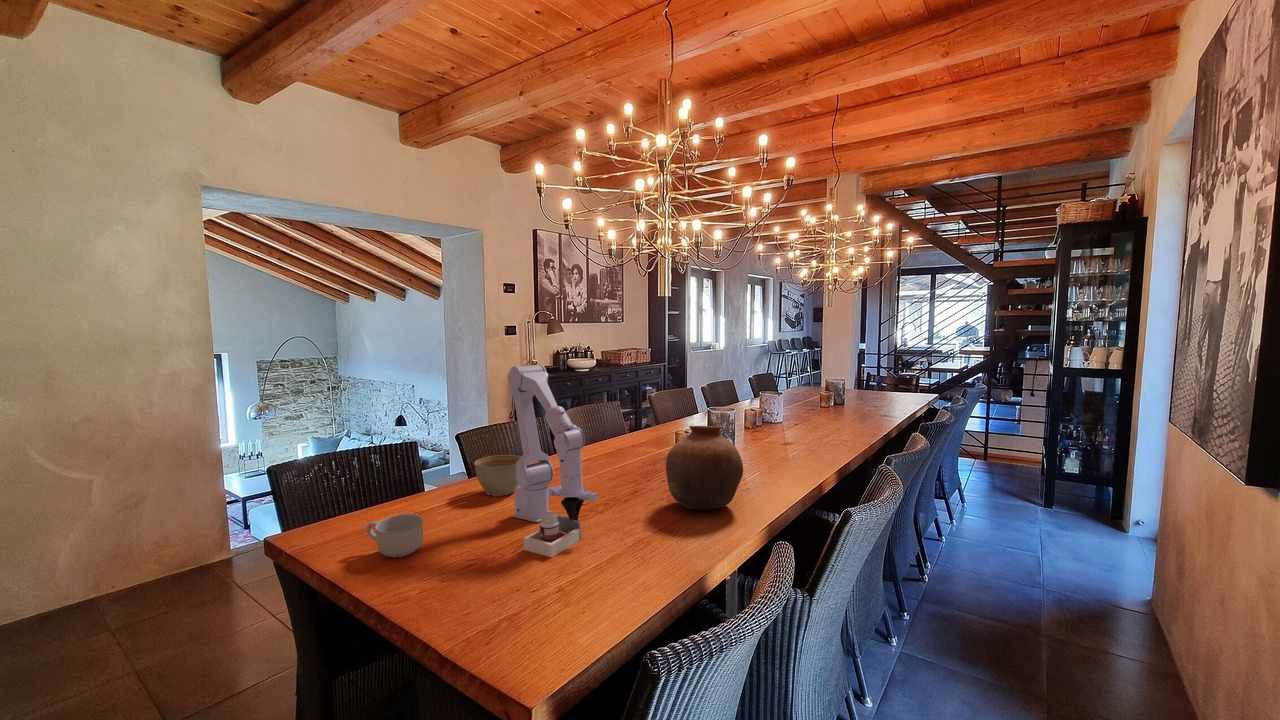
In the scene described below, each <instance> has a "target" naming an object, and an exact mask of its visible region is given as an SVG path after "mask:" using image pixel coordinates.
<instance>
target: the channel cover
mask: <svg viewBox="0 0 1280 720" xmlns="http://www.w3.org/2000/svg"><path fill="white" fill-rule="evenodd" d="M557 517H558V519H557V520H558V521H559V532H562V533H564V534H568V533H569V532H571V531H573V530H575V529H579V540H580V539H582V528H581V527H582V526H581V525H582V523H581V522H582V521H581V520H578V521H576V520H573V519H569V517H568V516H565V515H562V514H557Z"/></svg>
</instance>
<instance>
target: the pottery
mask: <svg viewBox="0 0 1280 720" xmlns="http://www.w3.org/2000/svg"><path fill="white" fill-rule="evenodd" d="M689 429H690V430H691V433H690V434H688V435H687V436H685V437H684V438H681V439H680V440H679V441H677V442H676V443H675V444H674V445H673V446H672V447H671V448H670V450H668V453H667V456H666V462H665V471H666V479H667V486H668V489H669V492H670V494H671V496H672V497H673V499H674V500H675V501H676V502H677V503H678V504H679V505H681V506H682V507H684V508H687V509H690V510H697V511H711V510H717V509H721V508H724V507H726V506H727V505H728V504H731V502H732V501H733V499H734V497H735V495H736V492H737V490H738V487H739V485H740V483H741V481H742V479H743V474H744V464H743V460H742V457H741V454H740V452H739V450H738V449H737V447H736V446H735V445H734V444H733V443H732V442H731V441H730V440H729V439H727V438H726V437H724V436H723V435H722V434H721V433H720V431H721V429H723V428H722V426H721V425H719V426H718V425H689Z"/></svg>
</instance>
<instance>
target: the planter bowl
mask: <svg viewBox="0 0 1280 720" xmlns="http://www.w3.org/2000/svg"><path fill="white" fill-rule="evenodd" d="M520 458H521V456H520V455H515V454H514V455H513V454H500V455H499V454H497V455H491V456H490V455H489V456H485V457H481V458H479V459H477V460H475V461H474V469H475V474H476V478H477V480H478V483H479V485H480V486H481V488H482V489H483V490H484V491H485V495H487V494H488V495H487V496H489V495H492V496H491V497H503V496H502V495H506V496H509V495H508V494H510V495H512V494H514V493H515V491H516V489H517V487H518V486H519V485H518V483H517V480H516V462H517V461H518V460H519V459H520ZM513 492H514V493H513ZM511 493H512V494H511Z"/></svg>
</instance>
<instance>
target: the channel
mask: <svg viewBox="0 0 1280 720" xmlns="http://www.w3.org/2000/svg"><path fill="white" fill-rule="evenodd" d="M522 541H523V543H522V544H523V550H524V551H527V552H531V553H534V554H537V555H541V556H545V557H549V558H554V557H555V556H557V555H558V554H560V553H562V552H563V551H565V550H567V549H568V548H570V547H572V546H573V545H574V544H575V545H576V543H578V542H579V541H580V539H579V529H575V530H573V531H571V532H569V533H568V534H567V533H565V534H564V535H562V536H560V537H559V539H557V540H555V541H554V542H552V543H549V542H545V541H541V540H540V529H538V530H536V531H534V532H532V533H530V534H528V535H526V536H524V537H523V538H522Z"/></svg>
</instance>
